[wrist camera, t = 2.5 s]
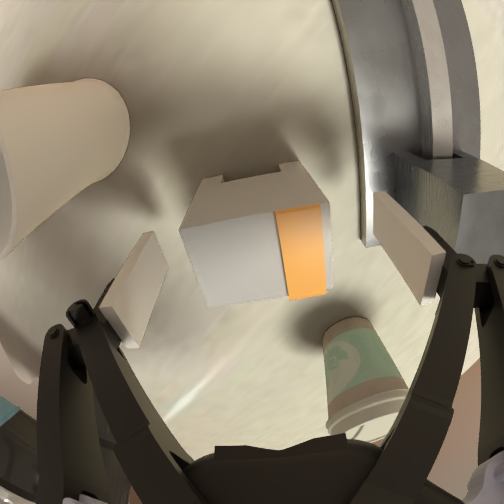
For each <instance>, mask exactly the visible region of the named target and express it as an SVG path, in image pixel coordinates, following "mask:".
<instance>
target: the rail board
mask: <svg viewBox="0 0 504 504" xmlns="http://www.w3.org/2000/svg"><path fill="white" fill-rule="evenodd" d="M332 4H333V8H334V11H335V15H336V19H337V23H338V27H339V31H340V36H341V40H342V45H343V50H344V55H345V60H346V65H347V71H348V76H349V82H350V89H351V95H352V102H353V110H354V118H355V126H356V136H357V147H358V159H359V174H360V195H361V241H362V243H363V244H364V246H365V247H366V248H368V247H373V246H378V245H381V244H380V243H379V241H378V240H377V239H376V237H375V236H374V234H373V193H374V192H381V191H385V192H386V193H387V194H388V195H390V196H391V197H392V198H393V199H394V200H395V201H396V202H397V203H398V204H399V205H400V206H402V207H403V208H404V209H405V210H406V211H407V212H408V213H409V214H410V215H411V216H412V217H413V218H414V219H415V220H416V221H417V222H418V223H419V224H420V225H421V226H428V227H430V228H432V229H434V230H435V231H436V232H437V233H438V234H439V235H440V236H441V237H442V238H443V239H444V241H446V242H447V243H448V244H449V245H450V246H451V247H452V248H453V250H454V251H455V252H456V253H457V254H459V253H460V254H466V255H468V256H470V257H472V258H473V259H474V260H475V262H476V264H487V263H488V260H489V258H490V256H491V255H502V256H504V171H502V170H500V169H498V168H496V167H494V166H493V165H491V164H489V163H487V162H485V161H483V160H480V101H479V88H478V79H477V71H476V63H475V57H474V51H473V46H472V41H471V36H470V31H469V27H468V23H467V19H466V15H465V12H464V8H463V5H462V2H461V0H332Z"/></svg>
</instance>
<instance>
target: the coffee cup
mask: <svg viewBox="0 0 504 504" xmlns="http://www.w3.org/2000/svg"><path fill="white" fill-rule="evenodd" d="M323 352H324V363H325V375H326V387H327V401H328V416H329V419H328V420H327V422H326V428H327V429H328V433H329V434H330V435H336V434H341V433H346V437H347V439H356V440H362V441H366V442H369V443H371V442H375V441H378V440H380V439H383V438H385V437H386V435H387V434H388V432H389V430H390V428H391V427H392V425H393V423H394V421H395V419H396V417H397V415H398V413H399V411H400V409H401V407H402V404H403V402H404V400H405V398H406V396H407V393H408V391H409V389H408V387H407V385H406V383H405V381H404V380H403V378H402V376H401V374H400V372H399V371H398V369H397V367H396V365H395V364H394V362H393V360H392V358H391V357H390V355H389V353H388V351H387V350H386V348H385V346H384V345H383V343H382V341H381V339H380V338H379V336H378V334H377V333H376V331H375V330H374V328H373V326H372V325H371V323H370V322H369V321H368V320H367V319H364V318H360V317H352V318H347V319H344V320H341V321H339V322H337V323H335V324H334V325H332V326H331V327H330V328H329V329H328V330H327V331H326V332H325V334H324V336H323Z"/></svg>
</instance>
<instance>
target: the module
mask: <svg viewBox="0 0 504 504" xmlns="http://www.w3.org/2000/svg"><path fill="white" fill-rule="evenodd" d="M278 165H279V171H280V172H275V173H269V174H264V175H258V176H253V177H248V178H242V179H237V180H233V181H228V182H225V181H224V177H223V175H219V176H214V177H209V178H205V179H202V181H201V183H200V185H199V187H198V190H197V192H196V194H195V196H194V198H193V200H192V202H191V204H190V206H189V208H188V211H187V213H186V215H185V217H184V219H183V221H182V224H181V226H180V228H179V232H180V235H181V238H182V241H183V243H184V246H185V249H186V252H187V255H188V257H189V260H190V263H191V265H192V268H193V271H194V273H195V276H196V279H197V281H198V284H199V286H200V289H201V292H202V294H203V297H204V299H205V302H206V304H207V307H208V308H214V307H221V306H228V305H235V304H241V303H248V302H254V301H260V300H267V299H273V298H279V297H284V296H289V300H290V301H291V300H296V299H302V298H307V297H313V296H318V295H323V294H326V289H328V288H333V287H334V282H333V253H332V234H331V218H330V205H329V201H328V200H327V198H326V197H325V195H324V194H323V192H322V191H321V190H320V188H319V187H318V185H317V184H316V183H315V181H314V180H313V179H312V177H311V176H310V174H309V173H308V172H307V170H306V169H305V168H304V166H303V165H302V164H301V162H300V161H293V162H287V163H281V164H278Z"/></svg>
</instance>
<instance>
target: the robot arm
mask: <svg viewBox="0 0 504 504" xmlns="http://www.w3.org/2000/svg"><path fill="white" fill-rule="evenodd" d="M373 234H374V236H375V237H376V239H377V240H378V241H379V243H380V244H381V246H382V247H383V249H384V250H385V252H386V253H387V254H388V256H389V257H390V259H391V260H392V262H393V263H394V265H395V266H396V268H397V269H398V271H399V272H400V274H401V275H402V277H403V279H404V280H405V282H406V283H407V285H408V286H409V288H410V290H411V291H412V293H413V295H414V296H415V298H416V300H417V301H418V303H419V305H420V306H422V305H426V304H429V303H433V302H434V299H435V296H436V292H437V293H438V295H439V296H440V301H439V304H438V308H437V311H436V314H435V315H436V316H435V319H434V323H433V326H432V329H431V332H430V336H429V339H428V342H427V345H426V348H425V350H424V353H423V356H422V359H421V362H420V364H419V367H418V369H417V372H416V374H415V377H414V379H413V382H412V384H411V387H410V389H409V391H408V393H407V396H406V398H405V400H404V402H403V404H402V407H401V409H400V411H399V413H398V415H397V417H396V419H395V421H394V423H393V425H392V427H391V428H390V430H389V432H388V434H387V435H386V437H385V439H384V440H383V442H382V444H381V446H380V447H378V446H376V445H374V444H372V443H369V442H366V441H362V440H356V439H347V437H346V433H341V434H336V435H331V436H325V437H320V438H314V439H311V440H308V441H306V442H303V443H300V444H298V445H295V446H292V447H289V448H286V449H283V450H271V449H264V448H258V447H252V446H246V445H244V446H215V453H212V454H209V455H206V456H203V457H201V458H199V459H197V460H196V461H194V460H193V459H192V458H191V457H190V456H189V455H188V454H187V453H186V452H185V451H184V449H183V448H182V447H181V445H180V444H179V443H178V441H177V440H176V439H175V437H174V436H173V434H172V433H171V431H170V430H169V429H168V427H167V426H166V424H165V423H164V421H163V420H162V418H161V417H160V415H159V414H158V412H157V411H156V409H155V408H154V406H153V404H152V403H151V401H150V400H149V398H148V396H147V395H146V393H145V391H144V390H143V388H142V386H141V385H140V383H139V381H138V379H137V378H136V376H135V374H134V372H133V371H132V369H131V367H130V365H129V363H128V361H127V359H126V358H125V356H124V354H123V352H122V350H121V349H120V348H119V345H120V342H121V341H122V342H123V344H124V345H125V347H126V348H140V345H141V342H142V339H143V336H144V333H145V331H146V328H147V325H148V322H149V319H150V316H151V314H152V311H153V308H154V305H155V303H156V300H157V297H158V294H159V292H160V289H161V287H162V284H163V281H164V279H165V276H166V274H167V271H168V269H169V267H168V264H167V262H166V260H165V257H164V255H163V252H162V250H161V247H160V245H159V243H158V240H157V237H156V235H155V232H154V231H151V232H147V233H143V234H142V236H141V237H140V239H139V240H138V242H137V244H136V245H135V247H134V248H133V250H132V251H131V253H130V255H129V256H128V258H127V260H126V261H125V263H124V264H123V266H122V268H121V269H120V271H119V273H118V275H117V276H116V278H114V279H113V280H112V281H111V282H110V283H109V284H108V285H107V286H106V288H105V290H104V292H103V293H102V295H101V298H100V299H99V300H98V302H97V304H96V306H95V307H94V309H92V307H91V306H90V304H89V303H88V301H87V300H84V299H82V300H79V301H77V302H75V303H73V304H72V305H71V306H70V307H69V308H68V310H67V312H66V317H67V318H68V319H69V321H70V322H71V324H72V325H73V326H74V328H73V329H70V330H66V329H65V328H64V326H63V325H62V324H57V325H55V326H53V327H51V328H50V329H49V330H48V332H47V333H46V336H45V340H44V346H43V352H42V359H41V367H40V376H39V386H38V400H37V420H35V419H34V418H32V417H31V416H29V415H28V414H27V413H25V412H24V411H23V410H21V407H19V406H16V405H14V404H13V403H12V402H10V401H8V400H7V399H6V398H4V397H3V396H1V395H0V504H129V497H130V489H131V485H132V487H133V489H134V490H135V492H136V493H137V495H138V496H139V498H140V500H141V501H142V503H143V504H504V256H502V255H491V256H490V258H489V260H488V263H487V264H476V262H475V260H474V259H473V258H472V257H470V256H468V255H466V254H460V253H459V254H457V253H456V252H455V251H454V250H453V248H452V247H451V246H450V245H449V244H448V243H447V242H446V241H444V239H443V238H442V237H441V236H440V235H439V234H438V233H437V232H436V231H435V230H434V229H432V228H430V227H428V226H421V225H420V224H419V223H418V222H417V221H416V220H415V219H414V218H413V217H412V216H411V215H410V214H409V213H408V212H407V211H406V210H405V209H404V208H403V207H402V206H400V205H399V204H398V203H397V202H396V201H395V200H394V199H393V198H392V197H391V196H390V195H388V194H387V193H386V192H385V191H381V192H374V193H373ZM473 308H475V315H476V322H477V329H478V338H479V348H480V361H481V420H480V432H479V444H478V445H479V446H478V467H477V468H476V469H475V471H474V472H473V474H472V476H471V479H470V481H469V482H468V485H467V487H468V492H467V495H466V497H465V498H464V499H463V501H461V500H460V499H458V498H456V497H455V496H453V495H451V494H450V493H448V492H446V491H445V490H443V489H441V488H440V487H438V486H437V485H435V484H433V483H432V482H430V481H429V480H427V476H428V474H429V472H430V471H431V468H432V466H433V464H434V462H435V460H436V458H437V455H438V453H439V451H440V448H441V446H442V444H443V441H444V439H445V436H446V434H447V431H448V428H449V426H450V423H451V420H452V417H453V413H454V409H453V408H452V403H453V400H454V397H455V393H456V390H457V386H458V383H459V379H460V376H461V372H462V368H463V363H464V359H465V354H466V350H467V345H468V339H469V334H470V328H471V321H472V314H473Z"/></svg>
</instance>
